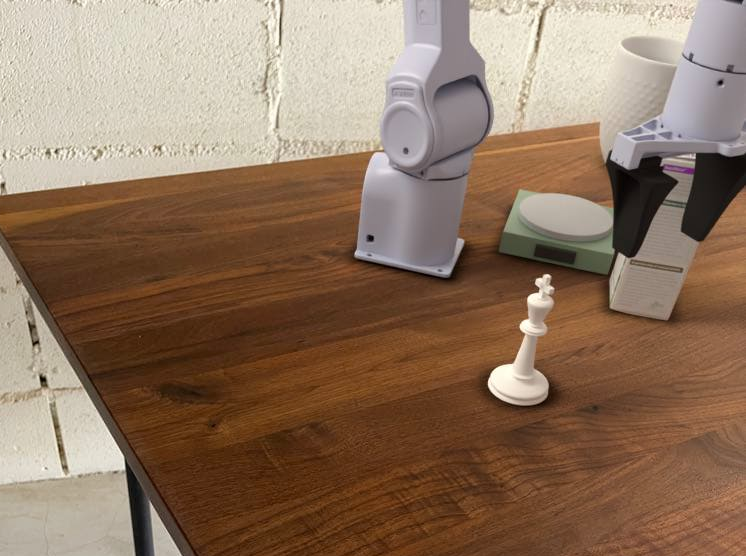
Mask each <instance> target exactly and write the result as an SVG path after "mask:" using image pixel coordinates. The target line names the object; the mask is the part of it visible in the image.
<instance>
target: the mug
mask: <svg viewBox="0 0 746 556" xmlns="http://www.w3.org/2000/svg"><path fill="white" fill-rule="evenodd" d="M685 42H686V40H682V39H678V38H674V37H667V36H660V35H631V36H626V37H623V38H621V39H619V42H618V44H617V47H616V52H615V55H614V58H613V62H612V64H611V67H610V72H609V75H608V80H607V82H606V87H605V91H604V95H603V99H602V103H601V104H602V106H601V110H600V115H599V116H600V119H599V127H598V128H599V134H598V135H599V147H600V150H601V155H602V159H603V161H604V164H606V160H607V157H608V153H609V151H610V150H612V149H613V147H614V144H615V140H616V137H617V134H618V132H623V131H627V130H631V129H633V128H635V127H637V126H639V125H641V124H643V123H645V122H647V121H649V120H651V119H653V118H655V117H657V116H659V115H661V114H662V113H663V110H664V107H665V104H666V100H667V97H668V94H669V91H670V88H671V85H672V82H673V79H674V76H675V72H676V69H677V66H678V63H679V60H680V57H681V54H682V51H683V48H684V45H685Z"/></svg>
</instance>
